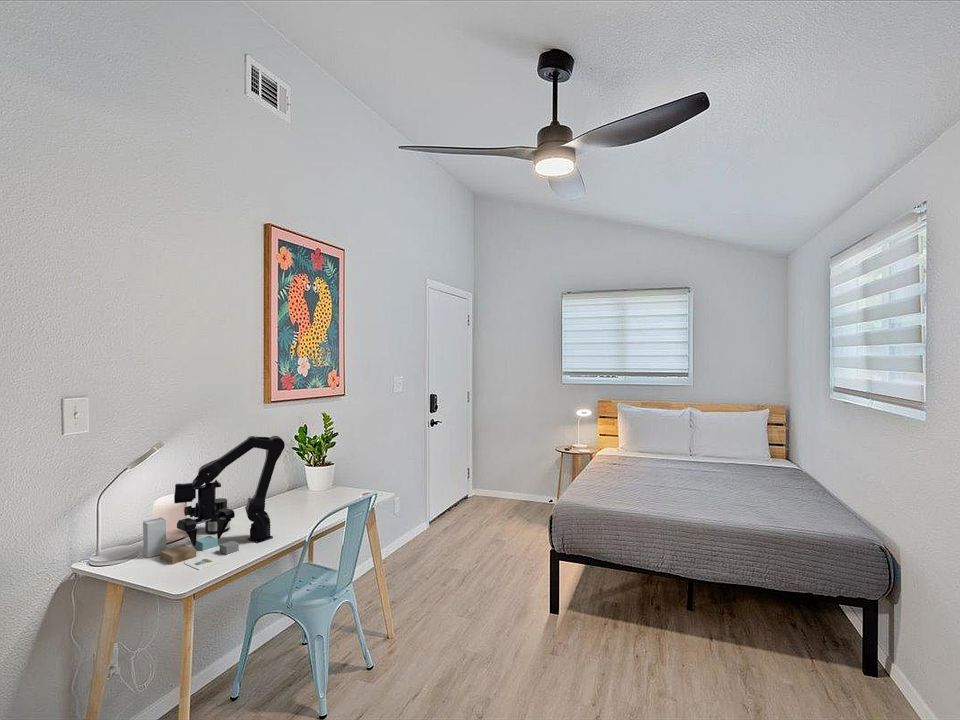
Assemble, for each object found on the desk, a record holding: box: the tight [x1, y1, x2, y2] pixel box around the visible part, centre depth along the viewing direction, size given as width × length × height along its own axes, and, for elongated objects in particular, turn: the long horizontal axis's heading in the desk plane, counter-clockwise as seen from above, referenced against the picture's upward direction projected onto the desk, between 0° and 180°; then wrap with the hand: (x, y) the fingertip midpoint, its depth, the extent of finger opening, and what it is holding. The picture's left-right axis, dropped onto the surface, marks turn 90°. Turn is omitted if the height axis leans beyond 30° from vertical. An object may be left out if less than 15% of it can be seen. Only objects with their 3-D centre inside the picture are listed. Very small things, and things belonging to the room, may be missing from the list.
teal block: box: [194, 535, 219, 552], centre depth 191 cm, size 6×6×3 cm
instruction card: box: [183, 556, 220, 571], centre depth 176 cm, size 7×9×1 cm
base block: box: [159, 544, 197, 565], centre depth 180 cm, size 8×8×3 cm
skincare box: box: [142, 517, 167, 559], centre depth 183 cm, size 6×4×12 cm
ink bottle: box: [204, 497, 231, 535], centre depth 208 cm, size 10×9×12 cm
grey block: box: [219, 540, 240, 556], centre depth 187 cm, size 4×4×3 cm
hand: (206, 542), depth 191 cm, fingers open, 9 cm apart
